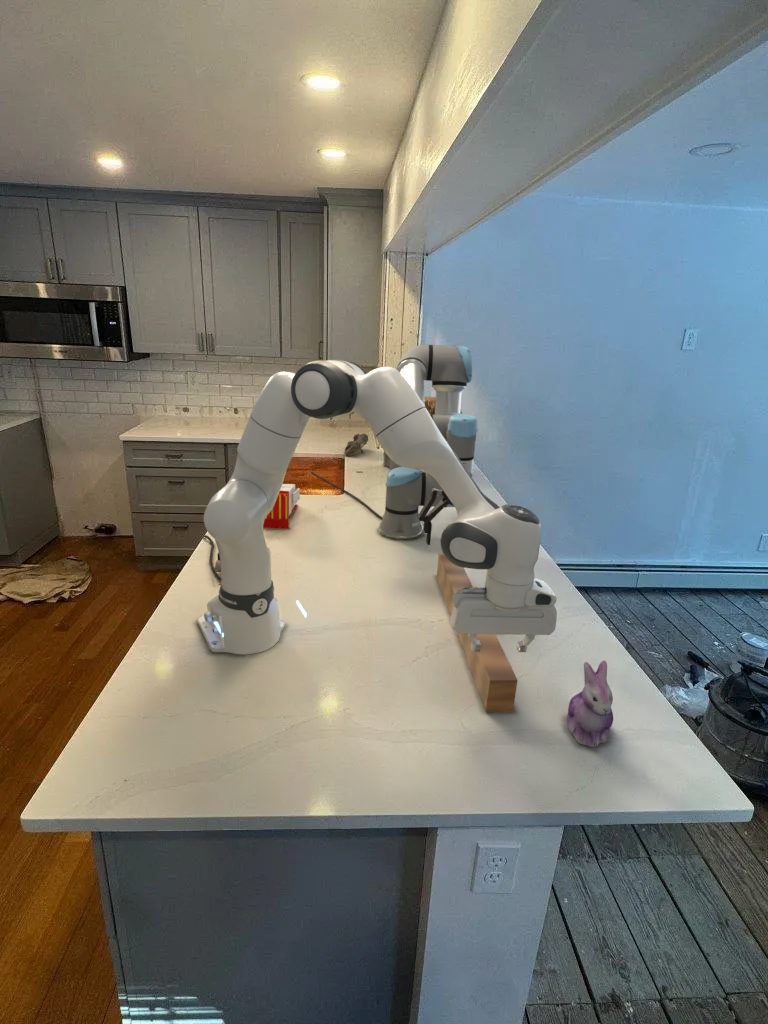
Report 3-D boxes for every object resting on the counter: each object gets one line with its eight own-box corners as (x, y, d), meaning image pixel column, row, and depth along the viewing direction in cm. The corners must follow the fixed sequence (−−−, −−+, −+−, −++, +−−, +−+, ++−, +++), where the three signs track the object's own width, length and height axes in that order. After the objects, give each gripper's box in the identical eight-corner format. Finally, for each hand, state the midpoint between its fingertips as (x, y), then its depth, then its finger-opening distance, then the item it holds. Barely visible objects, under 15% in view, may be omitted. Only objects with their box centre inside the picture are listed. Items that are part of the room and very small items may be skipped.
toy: (301, 479, 224) (291, 492, 194) (301, 512, 226) (291, 530, 197) (270, 478, 223) (256, 491, 194) (271, 511, 226) (256, 529, 197)
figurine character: (238, 584, 162) (249, 557, 175) (236, 562, 158) (247, 536, 172) (215, 584, 161) (227, 556, 175) (212, 561, 158) (225, 535, 171)
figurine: (591, 756, 102) (606, 687, 97) (551, 721, 111) (563, 655, 106) (628, 741, 107) (644, 673, 101) (587, 708, 115) (599, 644, 110)
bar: (436, 576, 169) (438, 553, 167) (454, 576, 170) (457, 553, 167) (485, 712, 113) (489, 680, 110) (513, 711, 113) (517, 680, 111)
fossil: (344, 439, 317) (365, 424, 312) (355, 453, 320) (376, 438, 315) (338, 453, 298) (360, 437, 293) (349, 467, 300) (371, 451, 295)
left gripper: (458, 595, 104) (449, 659, 109) (565, 598, 106) (552, 660, 111) (451, 579, 110) (444, 640, 115) (553, 582, 112) (541, 642, 117)
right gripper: (414, 476, 150) (409, 548, 157) (507, 477, 152) (497, 549, 160) (411, 467, 156) (406, 537, 164) (499, 469, 159) (491, 538, 167)
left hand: (498, 650), depth 113 cm, fingers open, 8 cm apart
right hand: (451, 543), depth 162 cm, fingers open, 13 cm apart
